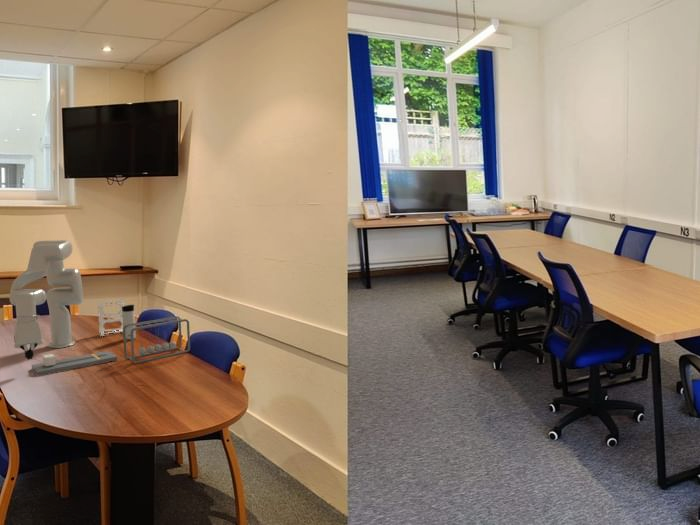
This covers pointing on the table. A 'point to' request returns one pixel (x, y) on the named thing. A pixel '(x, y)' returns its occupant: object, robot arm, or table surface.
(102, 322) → the film strip holder
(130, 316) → the travel mug
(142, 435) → the table surface
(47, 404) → the table surface
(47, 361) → the fader tab
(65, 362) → the board
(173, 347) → the newton's cradle
